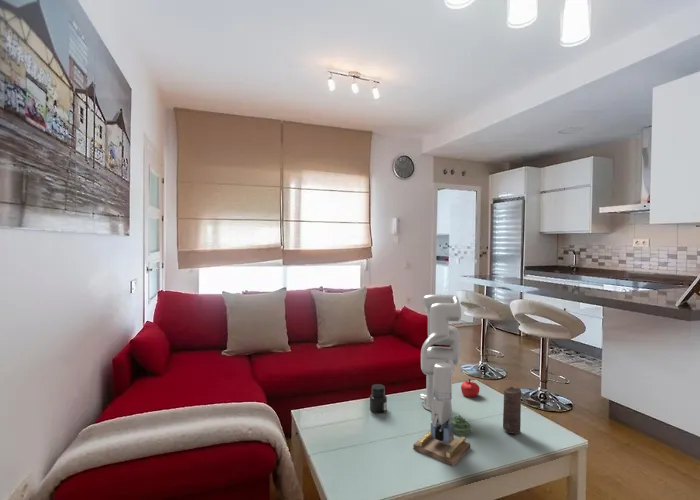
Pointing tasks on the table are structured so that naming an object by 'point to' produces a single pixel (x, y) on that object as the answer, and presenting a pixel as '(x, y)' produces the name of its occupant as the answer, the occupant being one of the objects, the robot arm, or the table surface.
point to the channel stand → (443, 448)
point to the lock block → (444, 432)
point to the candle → (512, 409)
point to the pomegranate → (470, 389)
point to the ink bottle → (378, 399)
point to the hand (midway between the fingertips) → (442, 436)
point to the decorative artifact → (460, 426)
